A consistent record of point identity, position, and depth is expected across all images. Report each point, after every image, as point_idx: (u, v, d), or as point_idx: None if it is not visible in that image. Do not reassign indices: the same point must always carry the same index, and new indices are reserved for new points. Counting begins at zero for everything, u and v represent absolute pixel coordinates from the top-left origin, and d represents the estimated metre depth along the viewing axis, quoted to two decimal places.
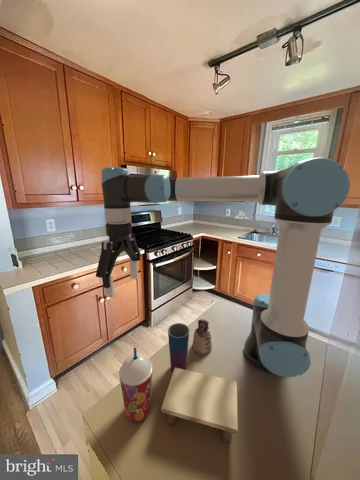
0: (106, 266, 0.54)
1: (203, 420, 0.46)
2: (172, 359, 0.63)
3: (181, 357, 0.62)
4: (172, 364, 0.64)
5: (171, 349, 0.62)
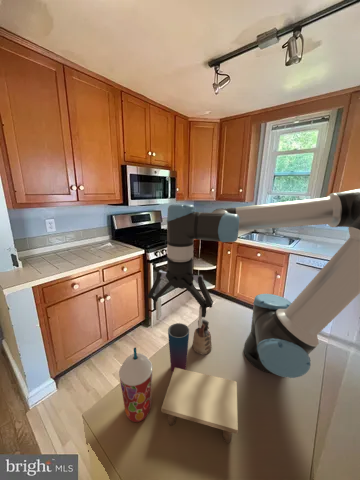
0: (152, 290, 0.61)
1: (203, 420, 0.46)
2: (172, 359, 0.63)
3: (181, 357, 0.62)
4: (172, 364, 0.64)
5: (171, 349, 0.62)
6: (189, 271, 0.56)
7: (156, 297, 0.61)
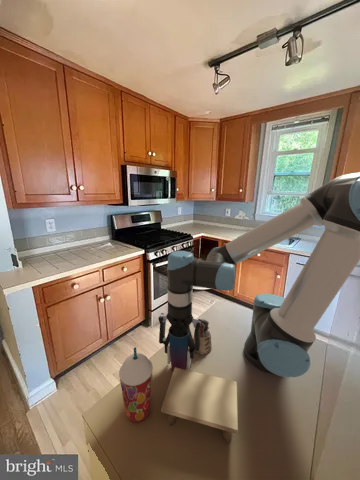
0: (160, 335, 0.64)
1: (203, 420, 0.46)
2: (172, 359, 0.63)
3: (182, 357, 0.62)
4: (172, 364, 0.64)
5: (172, 349, 0.62)
6: (188, 315, 0.59)
7: (166, 342, 0.64)
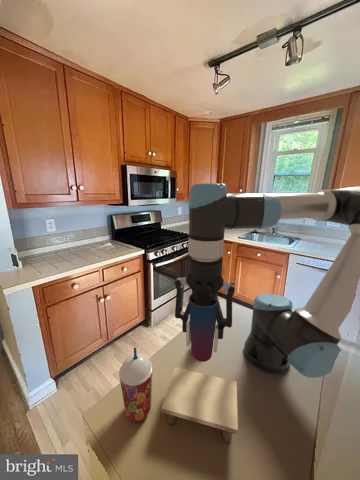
0: (177, 306, 0.47)
1: (203, 420, 0.46)
2: (194, 339, 0.46)
3: (207, 336, 0.44)
4: (194, 346, 0.46)
5: (193, 325, 0.45)
6: (218, 275, 0.42)
7: (185, 316, 0.47)
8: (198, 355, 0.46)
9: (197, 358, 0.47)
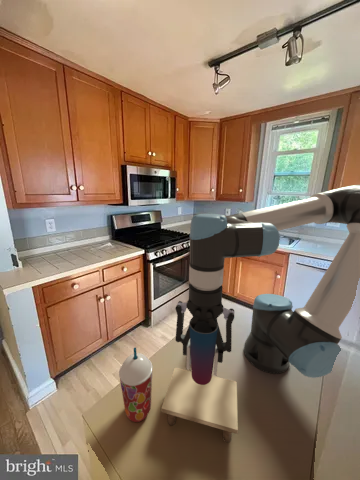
0: (178, 330, 0.48)
1: (203, 420, 0.46)
2: (195, 363, 0.46)
3: (207, 361, 0.45)
4: (194, 370, 0.47)
5: (194, 350, 0.46)
6: (219, 302, 0.43)
7: (186, 340, 0.48)
8: (198, 378, 0.47)
9: (197, 381, 0.47)
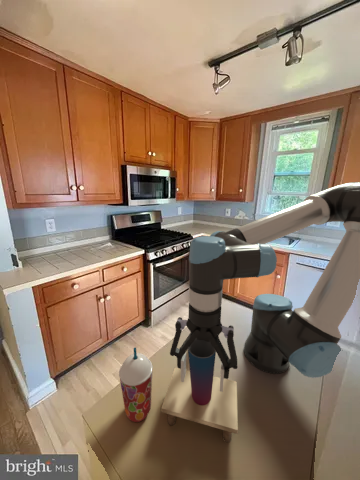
0: (174, 345, 0.49)
1: (203, 420, 0.46)
2: (194, 385, 0.48)
3: (206, 383, 0.47)
4: (194, 391, 0.49)
5: (193, 372, 0.47)
6: (218, 323, 0.44)
7: (180, 354, 0.49)
8: (198, 399, 0.49)
9: (197, 402, 0.49)
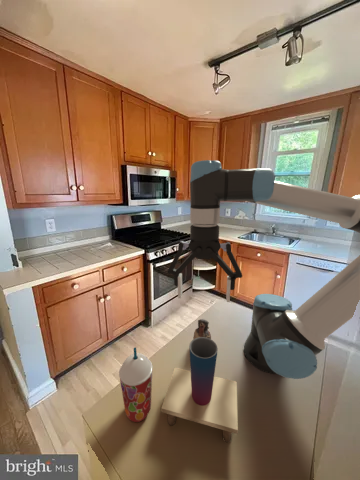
0: (173, 264, 0.55)
1: (203, 420, 0.46)
2: (195, 385, 0.48)
3: (207, 383, 0.47)
4: (194, 391, 0.49)
5: (194, 372, 0.47)
6: (217, 238, 0.50)
7: (178, 272, 0.55)
8: (198, 400, 0.49)
9: (197, 402, 0.49)
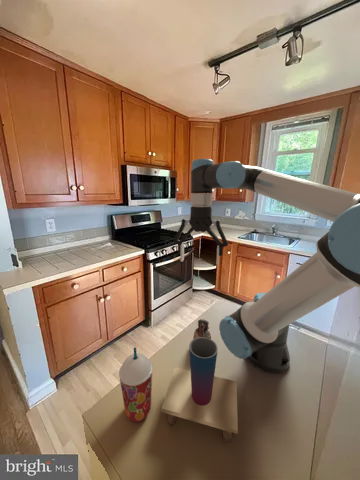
0: (177, 235, 0.74)
1: (203, 420, 0.46)
2: (195, 385, 0.48)
3: (207, 383, 0.47)
4: (194, 391, 0.49)
5: (194, 372, 0.47)
6: (209, 215, 0.69)
7: (180, 241, 0.74)
8: (198, 400, 0.49)
9: (197, 402, 0.49)
